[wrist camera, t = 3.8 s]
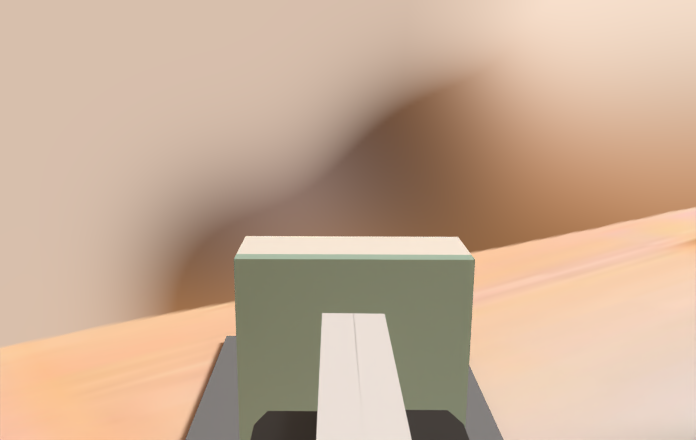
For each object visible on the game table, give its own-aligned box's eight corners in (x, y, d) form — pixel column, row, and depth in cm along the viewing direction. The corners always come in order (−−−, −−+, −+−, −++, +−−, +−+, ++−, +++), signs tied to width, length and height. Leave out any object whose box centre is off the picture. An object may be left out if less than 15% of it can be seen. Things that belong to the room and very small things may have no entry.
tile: (457, 566, 24) (474, 259, 21) (243, 568, 24) (234, 259, 21) (443, 512, 27) (458, 236, 24) (253, 513, 27) (246, 235, 24)
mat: (585, 631, 22) (586, 621, 22) (111, 635, 22) (110, 625, 21) (455, 341, 45) (455, 336, 45) (226, 341, 45) (226, 336, 45)
